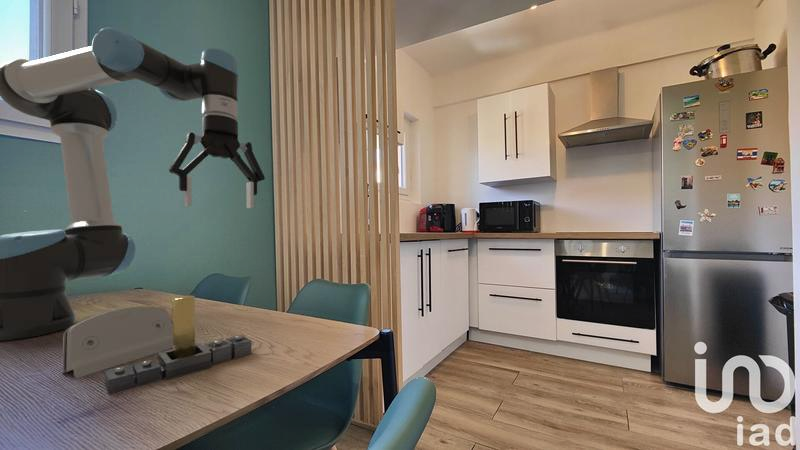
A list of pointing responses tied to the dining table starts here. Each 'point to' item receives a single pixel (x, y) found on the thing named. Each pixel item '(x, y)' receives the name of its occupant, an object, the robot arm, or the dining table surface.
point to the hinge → (116, 339)
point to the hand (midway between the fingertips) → (220, 207)
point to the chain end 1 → (145, 374)
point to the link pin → (183, 326)
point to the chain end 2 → (209, 353)
